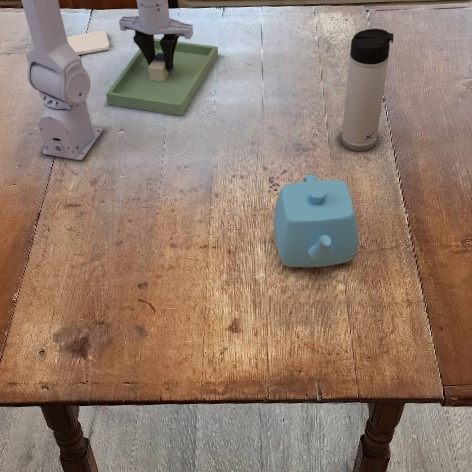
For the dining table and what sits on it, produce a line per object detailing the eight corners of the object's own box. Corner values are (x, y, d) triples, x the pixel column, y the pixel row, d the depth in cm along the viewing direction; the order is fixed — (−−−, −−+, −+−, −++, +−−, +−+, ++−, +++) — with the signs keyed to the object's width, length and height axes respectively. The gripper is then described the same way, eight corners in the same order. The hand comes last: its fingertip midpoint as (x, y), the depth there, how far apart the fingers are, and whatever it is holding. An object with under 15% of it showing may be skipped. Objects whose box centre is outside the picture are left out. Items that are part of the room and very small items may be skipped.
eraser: (163, 82, 136) (162, 69, 134) (149, 80, 137) (147, 67, 135) (174, 66, 140) (172, 53, 138) (160, 64, 140) (158, 51, 138)
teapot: (282, 300, 100) (283, 244, 91) (269, 217, 112) (269, 160, 102) (365, 293, 101) (374, 237, 92) (344, 211, 112) (350, 154, 103)
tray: (182, 116, 130) (180, 105, 128) (108, 104, 133) (105, 93, 132) (218, 57, 143) (217, 46, 141) (149, 48, 146) (148, 37, 144)
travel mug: (376, 153, 121) (392, 46, 105) (339, 149, 122) (349, 43, 106) (379, 132, 124) (395, 26, 109) (343, 129, 125) (353, 23, 110)
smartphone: (37, 41, 148) (105, 30, 150) (38, 45, 149) (106, 33, 150) (39, 58, 144) (109, 46, 145) (40, 62, 144) (110, 49, 146)
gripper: (195, -7, 127) (201, 61, 138) (125, -15, 130) (136, 52, 141) (182, 12, 123) (189, 80, 134) (109, 3, 126) (122, 70, 137)
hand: (161, 67), depth 137 cm, fingers closed on eraser, 3 cm apart
